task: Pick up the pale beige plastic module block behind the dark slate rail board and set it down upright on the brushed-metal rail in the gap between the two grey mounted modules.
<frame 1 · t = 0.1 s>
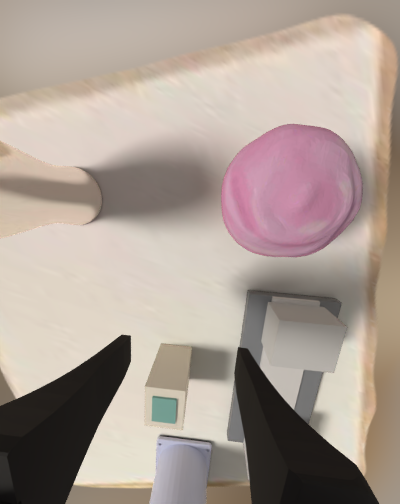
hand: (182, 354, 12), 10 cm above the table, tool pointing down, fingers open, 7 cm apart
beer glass: (76, 197, 20), on the table
cupcake: (260, 201, 20), on the table
module block: (175, 361, 24), on the table
rail board: (275, 372, 24), on the table
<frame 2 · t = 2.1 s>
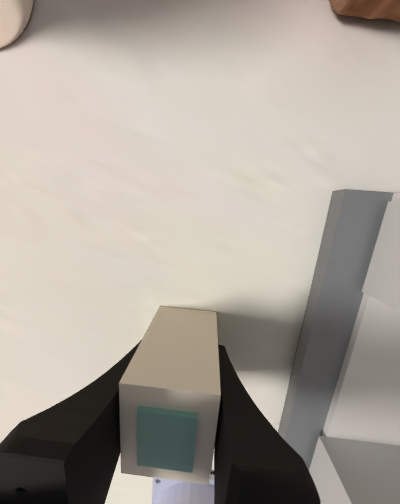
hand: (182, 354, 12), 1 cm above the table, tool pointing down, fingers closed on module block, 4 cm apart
module block: (185, 339, 14), on the table, touching gripper
rail board: (368, 359, 13), on the table
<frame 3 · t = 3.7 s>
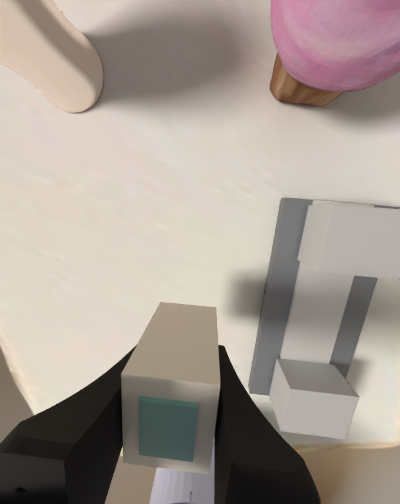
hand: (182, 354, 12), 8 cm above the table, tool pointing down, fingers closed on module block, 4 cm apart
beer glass: (72, 76, 17), on the table
cupcake: (301, 76, 16), on the table
module block: (186, 335, 14), point 7 cm above the table, touching gripper
rail board: (309, 308, 20), on the table
when the fingers open (4 cm above the table, at t = 5.6 s): module block drops 1 cm, resting on rail board.
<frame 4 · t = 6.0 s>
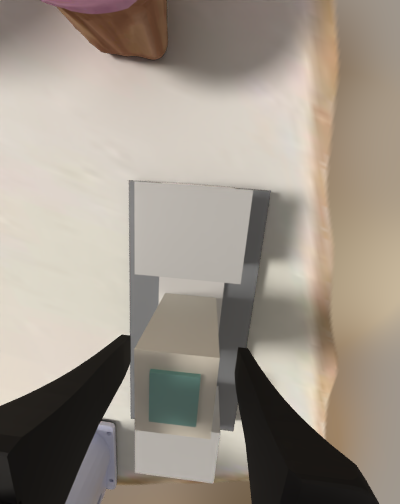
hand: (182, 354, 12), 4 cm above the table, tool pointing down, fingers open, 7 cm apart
cupcake: (135, 21, 12), on the table
module block: (188, 323, 15), point 1 cm above the table, touching rail board
rail board: (190, 317, 16), on the table
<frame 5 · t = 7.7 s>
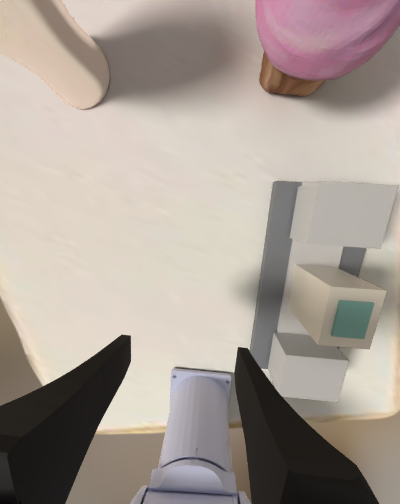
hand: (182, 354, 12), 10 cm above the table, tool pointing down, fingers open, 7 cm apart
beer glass: (81, 75, 18), on the table
cupcake: (288, 69, 17), on the table
module block: (309, 287, 20), point 1 cm above the table, touching rail board
rail board: (303, 284, 21), on the table
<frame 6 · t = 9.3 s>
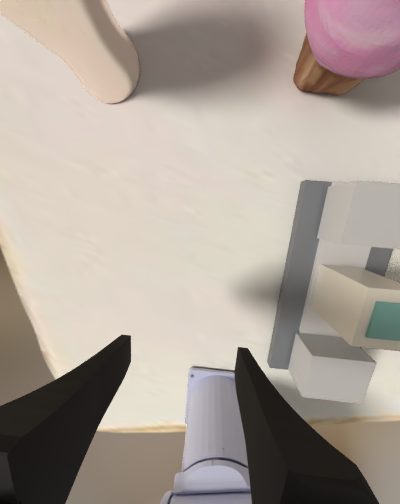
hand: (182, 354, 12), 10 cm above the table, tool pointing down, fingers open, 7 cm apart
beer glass: (110, 69, 18), on the table
cupcake: (321, 67, 17), on the table
module block: (334, 288, 20), point 1 cm above the table, touching rail board
rail board: (326, 285, 21), on the table
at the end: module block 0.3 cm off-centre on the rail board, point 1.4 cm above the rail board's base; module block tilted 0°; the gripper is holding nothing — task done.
